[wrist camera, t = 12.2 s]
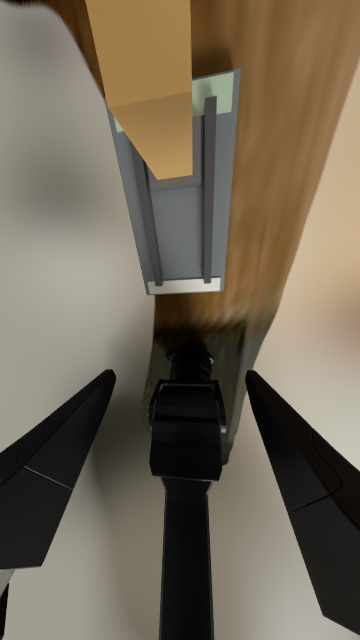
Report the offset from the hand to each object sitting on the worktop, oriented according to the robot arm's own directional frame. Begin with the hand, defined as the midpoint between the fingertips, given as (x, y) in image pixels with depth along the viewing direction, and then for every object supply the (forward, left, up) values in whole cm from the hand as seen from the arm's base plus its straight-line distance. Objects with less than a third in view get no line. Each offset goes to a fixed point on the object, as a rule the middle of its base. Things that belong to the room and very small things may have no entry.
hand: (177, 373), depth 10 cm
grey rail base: (+6, +7, -13) cm, 16 cm away
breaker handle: (+9, +10, -11) cm, 17 cm away
